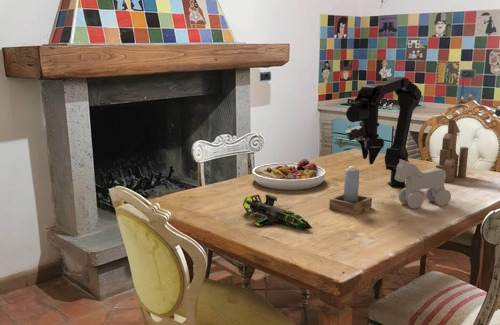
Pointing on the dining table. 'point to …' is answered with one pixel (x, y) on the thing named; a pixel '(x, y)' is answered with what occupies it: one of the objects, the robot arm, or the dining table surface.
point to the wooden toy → (452, 154)
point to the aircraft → (273, 213)
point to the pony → (421, 185)
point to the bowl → (289, 175)
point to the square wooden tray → (350, 204)
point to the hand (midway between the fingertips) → (367, 161)
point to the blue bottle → (351, 185)
